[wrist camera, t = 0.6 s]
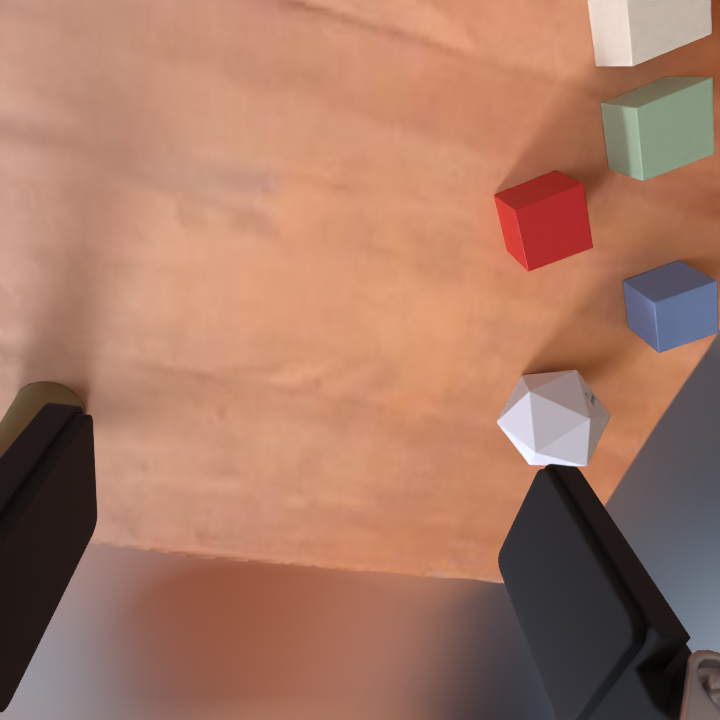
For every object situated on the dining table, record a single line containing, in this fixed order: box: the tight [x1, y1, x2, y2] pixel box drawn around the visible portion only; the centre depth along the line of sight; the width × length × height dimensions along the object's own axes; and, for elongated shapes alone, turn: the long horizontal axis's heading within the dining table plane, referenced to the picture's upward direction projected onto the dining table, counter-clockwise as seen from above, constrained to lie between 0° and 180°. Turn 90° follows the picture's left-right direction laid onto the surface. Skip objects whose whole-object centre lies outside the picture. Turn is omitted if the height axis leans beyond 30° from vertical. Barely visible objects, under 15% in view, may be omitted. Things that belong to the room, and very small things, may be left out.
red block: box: [494, 171, 593, 271], centre depth 40 cm, size 5×5×5 cm
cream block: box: [588, 0, 712, 66], centre depth 33 cm, size 5×5×5 cm
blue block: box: [623, 260, 719, 353], centre depth 44 cm, size 5×5×5 cm
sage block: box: [601, 76, 715, 181], centre depth 37 cm, size 5×5×5 cm
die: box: [497, 370, 610, 466], centre depth 47 cm, size 8×9×10 cm
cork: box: [0, 382, 85, 458], centre depth 43 cm, size 6×6×11 cm
